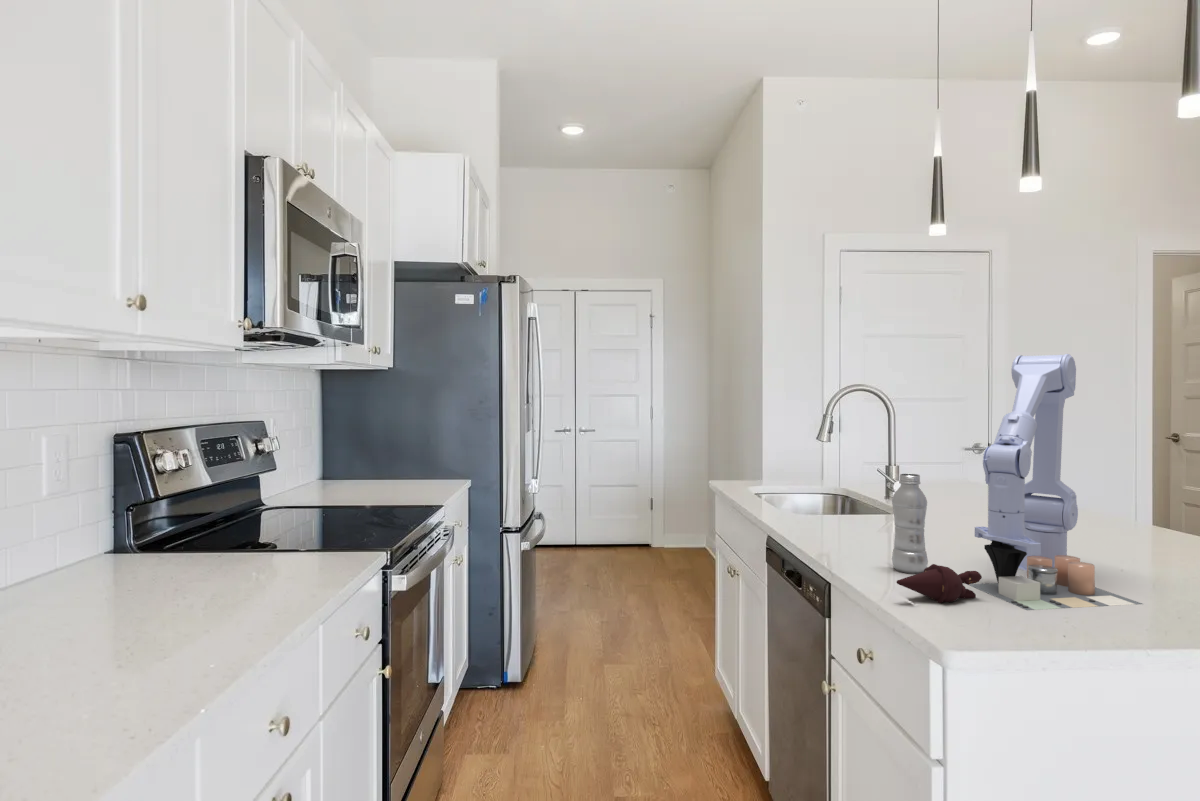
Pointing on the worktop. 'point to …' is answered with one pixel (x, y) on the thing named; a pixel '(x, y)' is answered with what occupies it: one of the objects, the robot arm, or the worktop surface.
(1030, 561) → the tan rounded block
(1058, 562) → the tan rounded block
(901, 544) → the plastic bottle
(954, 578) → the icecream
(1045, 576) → the tin
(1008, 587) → the white block
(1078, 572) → the tan rounded cylinder
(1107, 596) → the board
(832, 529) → the worktop surface
